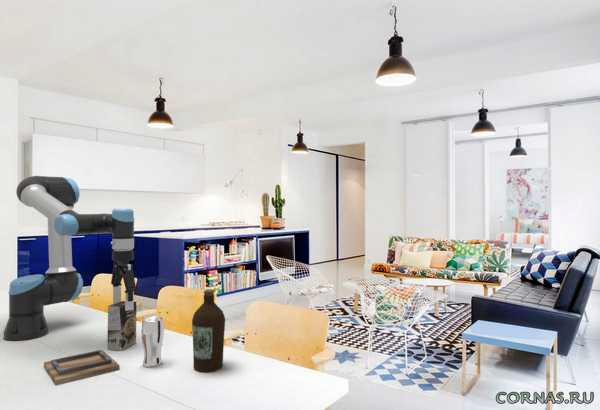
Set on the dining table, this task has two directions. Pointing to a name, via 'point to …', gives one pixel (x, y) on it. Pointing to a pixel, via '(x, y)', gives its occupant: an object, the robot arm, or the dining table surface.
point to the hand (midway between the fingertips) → (123, 306)
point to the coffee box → (121, 327)
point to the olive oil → (208, 335)
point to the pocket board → (80, 366)
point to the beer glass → (152, 340)
